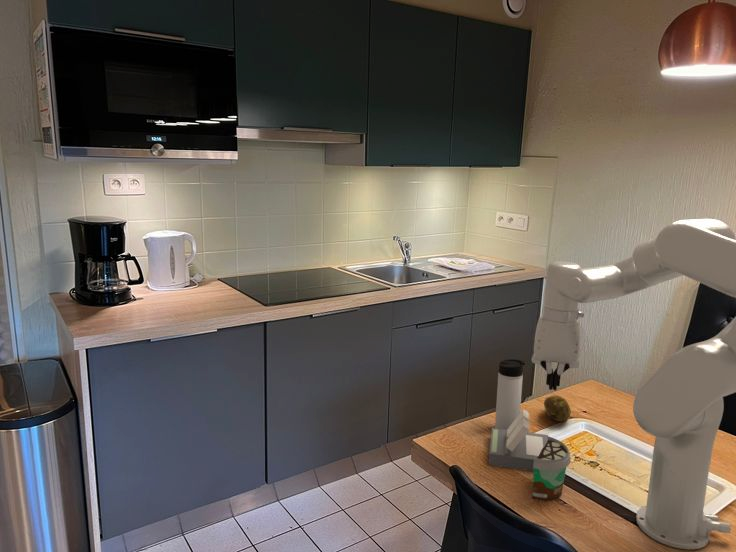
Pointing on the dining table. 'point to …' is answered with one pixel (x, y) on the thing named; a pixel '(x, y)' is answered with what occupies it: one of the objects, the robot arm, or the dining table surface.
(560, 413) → the potato
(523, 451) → the panel
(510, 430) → the paddle on
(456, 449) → the dining table surface
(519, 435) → the paddle
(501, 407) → the travel mug
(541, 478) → the food container
